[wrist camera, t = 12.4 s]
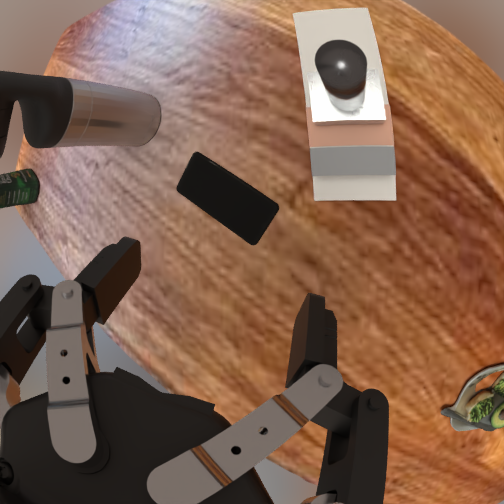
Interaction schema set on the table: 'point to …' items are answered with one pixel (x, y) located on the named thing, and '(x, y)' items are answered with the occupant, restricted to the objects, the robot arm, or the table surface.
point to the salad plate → (479, 404)
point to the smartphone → (227, 198)
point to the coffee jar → (18, 188)
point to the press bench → (351, 135)
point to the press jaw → (344, 87)
